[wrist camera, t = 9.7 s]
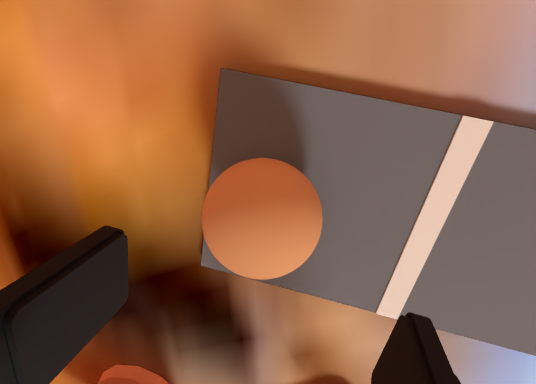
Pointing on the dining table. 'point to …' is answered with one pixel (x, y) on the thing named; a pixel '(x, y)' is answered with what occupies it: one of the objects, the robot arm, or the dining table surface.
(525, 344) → the mat
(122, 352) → the dining table surface
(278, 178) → the ball
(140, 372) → the potted cactus
